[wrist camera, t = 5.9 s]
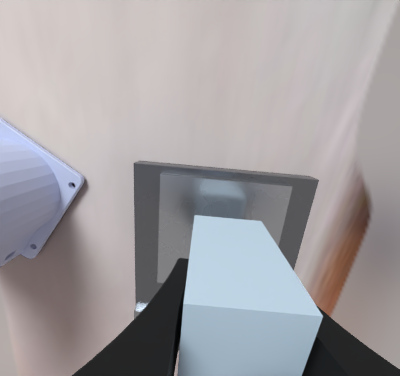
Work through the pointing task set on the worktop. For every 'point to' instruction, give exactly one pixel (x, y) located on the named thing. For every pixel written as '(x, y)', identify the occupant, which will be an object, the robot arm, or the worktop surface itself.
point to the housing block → (243, 304)
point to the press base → (209, 213)
